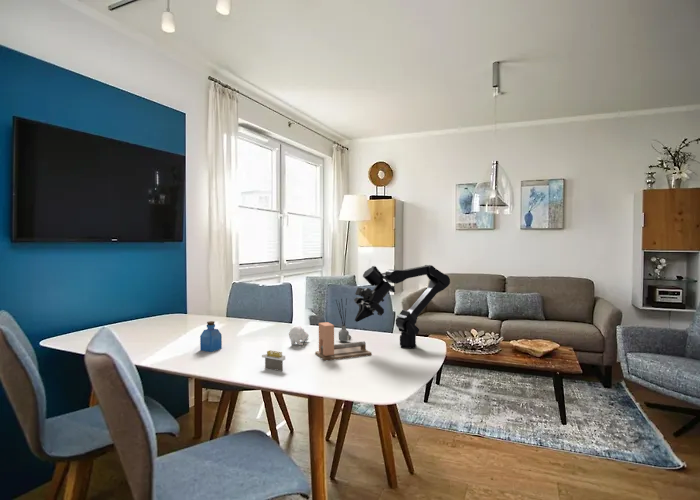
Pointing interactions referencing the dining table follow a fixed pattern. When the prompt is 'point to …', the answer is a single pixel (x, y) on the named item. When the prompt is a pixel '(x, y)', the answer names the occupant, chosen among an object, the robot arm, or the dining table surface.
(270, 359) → the platform
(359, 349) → the pipe rig
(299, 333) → the white lumpy figurine
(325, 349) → the peach rectangular block
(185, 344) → the dining table surface
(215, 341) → the perfume bottle
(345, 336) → the reed diffuser
